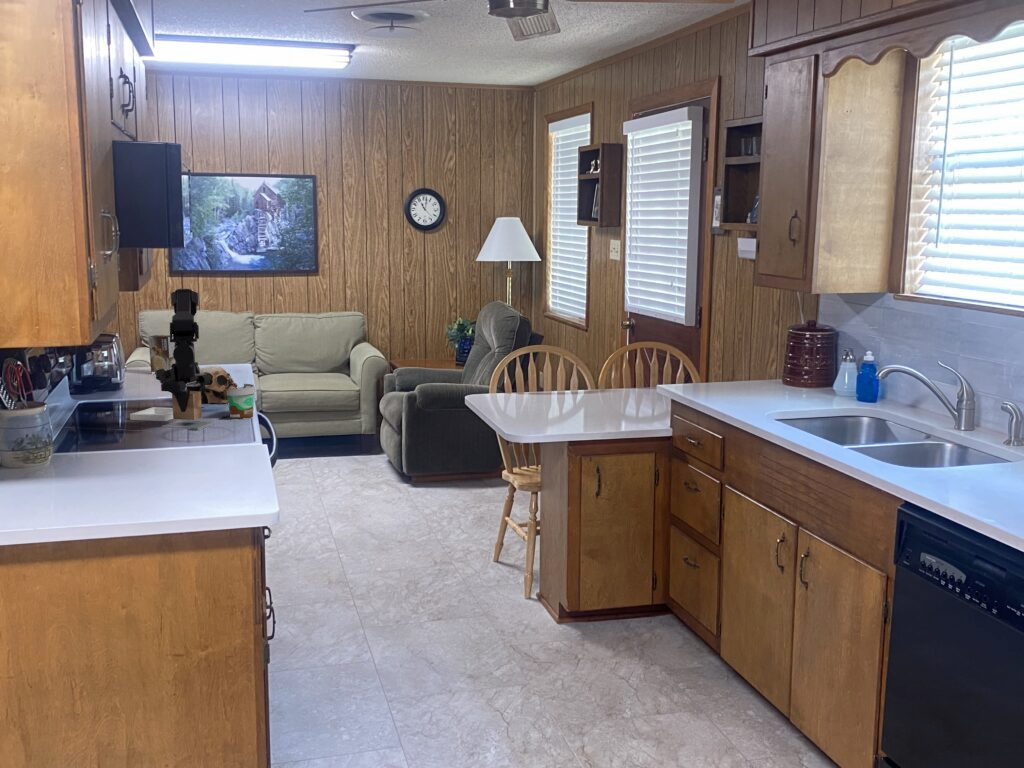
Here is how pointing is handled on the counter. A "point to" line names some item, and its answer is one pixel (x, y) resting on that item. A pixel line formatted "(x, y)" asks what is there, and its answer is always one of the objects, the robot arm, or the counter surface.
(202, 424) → the slate trivet
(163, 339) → the coffee box
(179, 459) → the counter surface
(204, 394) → the brown skull
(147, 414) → the pocket tray
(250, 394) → the food container
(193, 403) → the walnut block
